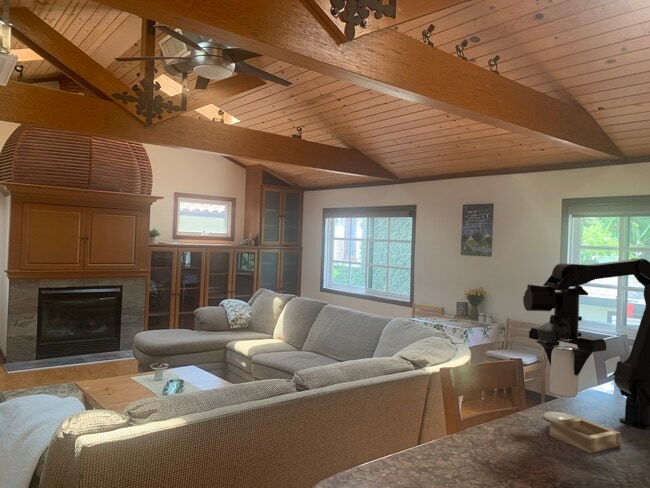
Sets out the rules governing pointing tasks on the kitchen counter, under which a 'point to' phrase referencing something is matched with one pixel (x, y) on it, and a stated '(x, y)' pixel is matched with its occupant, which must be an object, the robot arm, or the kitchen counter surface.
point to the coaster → (557, 416)
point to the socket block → (592, 441)
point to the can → (563, 372)
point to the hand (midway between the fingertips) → (564, 371)
